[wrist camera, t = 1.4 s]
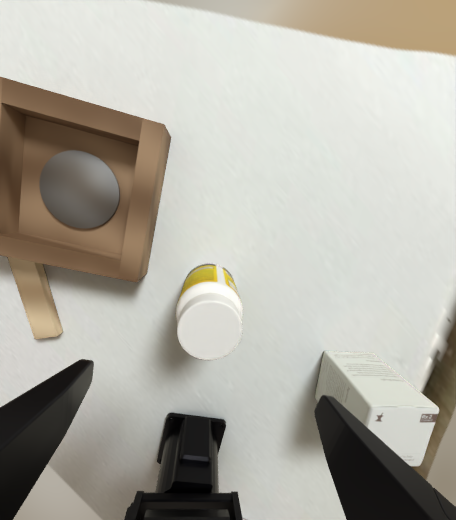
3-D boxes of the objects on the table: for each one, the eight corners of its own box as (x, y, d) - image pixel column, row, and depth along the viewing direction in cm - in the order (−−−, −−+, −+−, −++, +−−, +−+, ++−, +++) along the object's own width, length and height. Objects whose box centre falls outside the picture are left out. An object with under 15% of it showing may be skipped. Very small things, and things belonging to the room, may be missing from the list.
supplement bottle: (177, 298, 21) (156, 351, 13) (196, 254, 21) (187, 281, 12) (222, 315, 22) (229, 376, 14) (242, 274, 21) (262, 312, 13)
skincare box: (313, 396, 25) (354, 469, 18) (323, 348, 24) (371, 407, 17) (362, 397, 26) (421, 469, 19) (375, 351, 25) (443, 408, 17)
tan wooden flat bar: (63, 331, 21) (57, 336, 20) (41, 334, 21) (34, 339, 20) (38, 249, 19) (31, 251, 19) (14, 252, 19) (6, 254, 19)
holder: (146, 273, 21) (137, 282, 18) (6, 244, 19) (-28, 249, 16) (171, 137, 18) (164, 124, 16) (14, 92, 17) (-24, 69, 14)
